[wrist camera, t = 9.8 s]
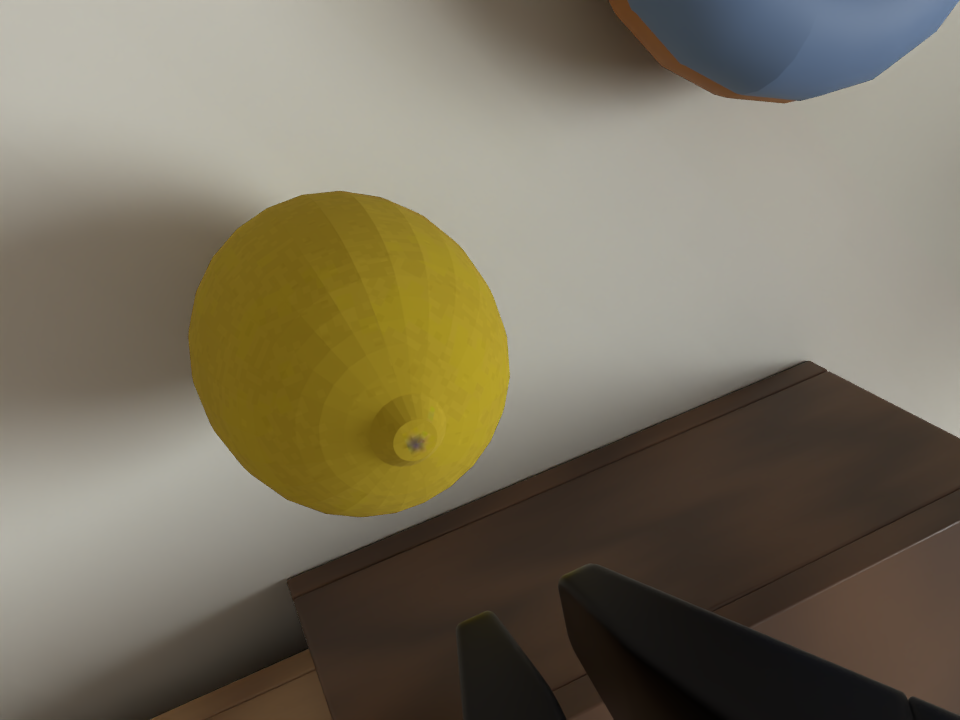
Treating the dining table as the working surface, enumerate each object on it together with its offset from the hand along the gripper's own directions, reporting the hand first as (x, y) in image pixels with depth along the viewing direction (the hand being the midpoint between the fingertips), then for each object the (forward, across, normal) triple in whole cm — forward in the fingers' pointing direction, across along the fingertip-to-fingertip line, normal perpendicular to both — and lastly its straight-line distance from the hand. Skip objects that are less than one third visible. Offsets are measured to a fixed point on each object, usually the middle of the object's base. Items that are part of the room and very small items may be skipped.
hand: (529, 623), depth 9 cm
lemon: (+12, 0, 0) cm, 12 cm away
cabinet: (+12, -6, +14) cm, 19 cm away
